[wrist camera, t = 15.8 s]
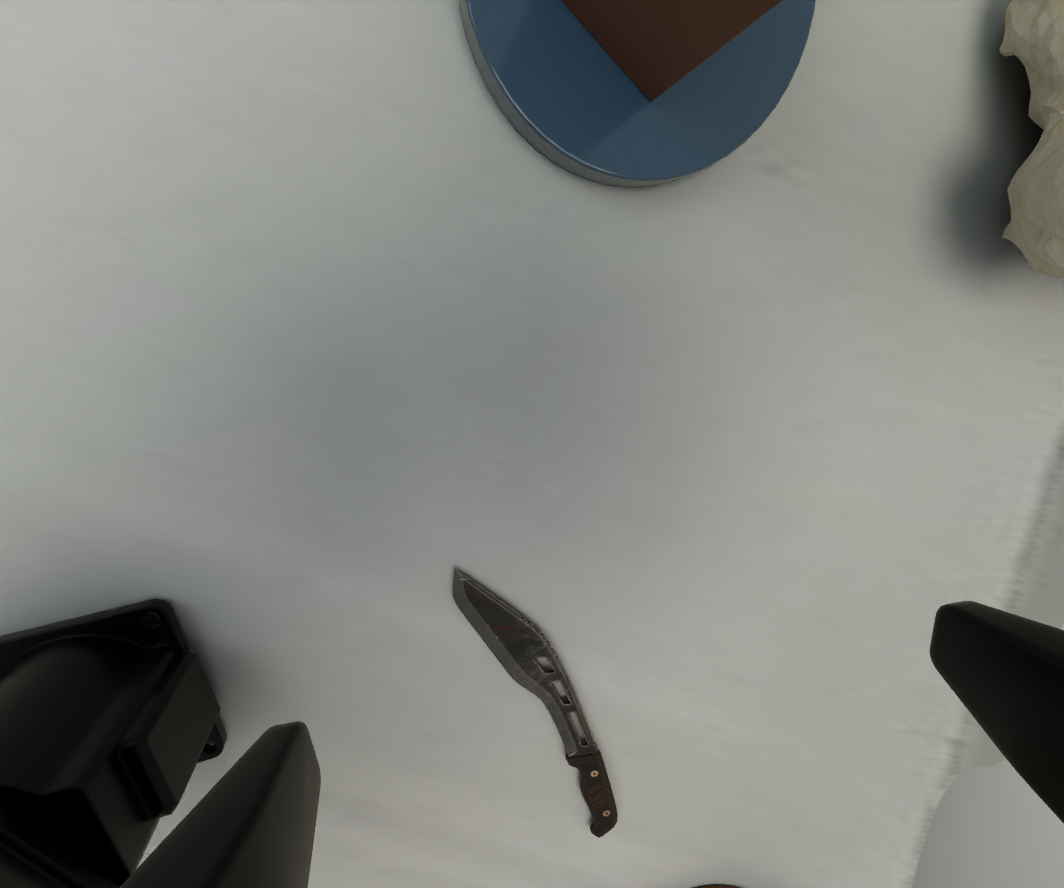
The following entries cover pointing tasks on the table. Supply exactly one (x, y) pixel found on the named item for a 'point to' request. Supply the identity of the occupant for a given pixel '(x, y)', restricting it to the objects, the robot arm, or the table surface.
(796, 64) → the plate
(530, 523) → the table surface
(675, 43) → the tan and brown block
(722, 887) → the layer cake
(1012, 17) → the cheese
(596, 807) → the knife
